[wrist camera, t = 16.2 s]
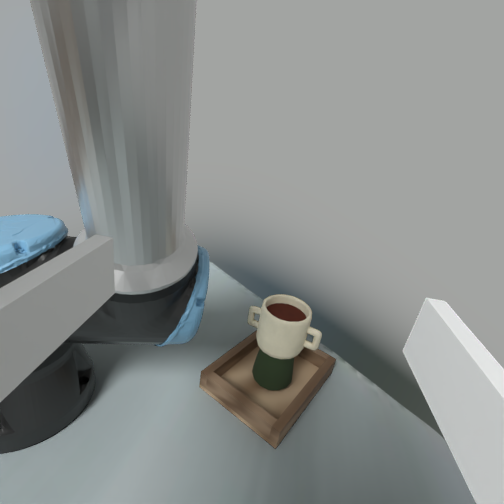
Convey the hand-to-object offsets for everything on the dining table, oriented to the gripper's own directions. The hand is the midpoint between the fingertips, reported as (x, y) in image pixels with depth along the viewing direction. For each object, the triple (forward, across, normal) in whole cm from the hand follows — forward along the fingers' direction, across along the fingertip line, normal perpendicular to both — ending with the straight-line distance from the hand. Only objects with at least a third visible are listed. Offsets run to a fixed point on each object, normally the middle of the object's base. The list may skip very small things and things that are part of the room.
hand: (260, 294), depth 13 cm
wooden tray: (+26, +4, -30) cm, 40 cm away
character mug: (+25, +4, -30) cm, 39 cm away
